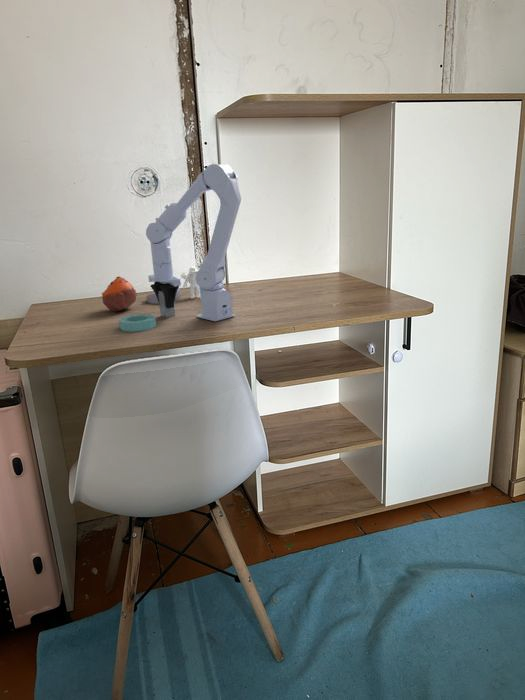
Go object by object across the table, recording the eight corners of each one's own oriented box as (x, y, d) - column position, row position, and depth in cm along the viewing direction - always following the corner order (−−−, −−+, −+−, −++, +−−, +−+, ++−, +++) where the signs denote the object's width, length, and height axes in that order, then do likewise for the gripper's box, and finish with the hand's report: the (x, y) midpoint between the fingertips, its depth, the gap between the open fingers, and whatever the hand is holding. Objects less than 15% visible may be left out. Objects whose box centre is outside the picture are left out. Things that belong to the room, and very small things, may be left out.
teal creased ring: (162, 325, 157) (161, 317, 156) (132, 333, 151) (131, 324, 150) (144, 320, 164) (143, 312, 163) (114, 327, 158) (113, 319, 157)
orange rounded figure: (126, 315, 172) (122, 279, 169) (97, 314, 175) (92, 279, 172) (143, 306, 184) (139, 272, 180) (115, 306, 186) (111, 273, 183)
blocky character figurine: (207, 295, 196) (204, 262, 192) (208, 297, 192) (205, 263, 188) (182, 297, 194) (179, 264, 191) (183, 299, 191) (179, 265, 187)
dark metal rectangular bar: (175, 315, 168) (172, 290, 166) (166, 317, 166) (163, 292, 164) (169, 314, 171) (166, 289, 168) (160, 316, 169) (157, 291, 166)
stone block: (146, 309, 188) (172, 303, 185) (142, 296, 187) (168, 289, 184) (159, 302, 199) (183, 297, 197) (155, 290, 198) (180, 284, 195)
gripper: (138, 262, 166) (143, 306, 170) (164, 266, 156) (169, 312, 160) (157, 259, 171) (162, 301, 175) (184, 263, 160) (188, 307, 165)
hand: (166, 306), depth 168 cm, fingers closed on dark metal rectangular bar, 3 cm apart
